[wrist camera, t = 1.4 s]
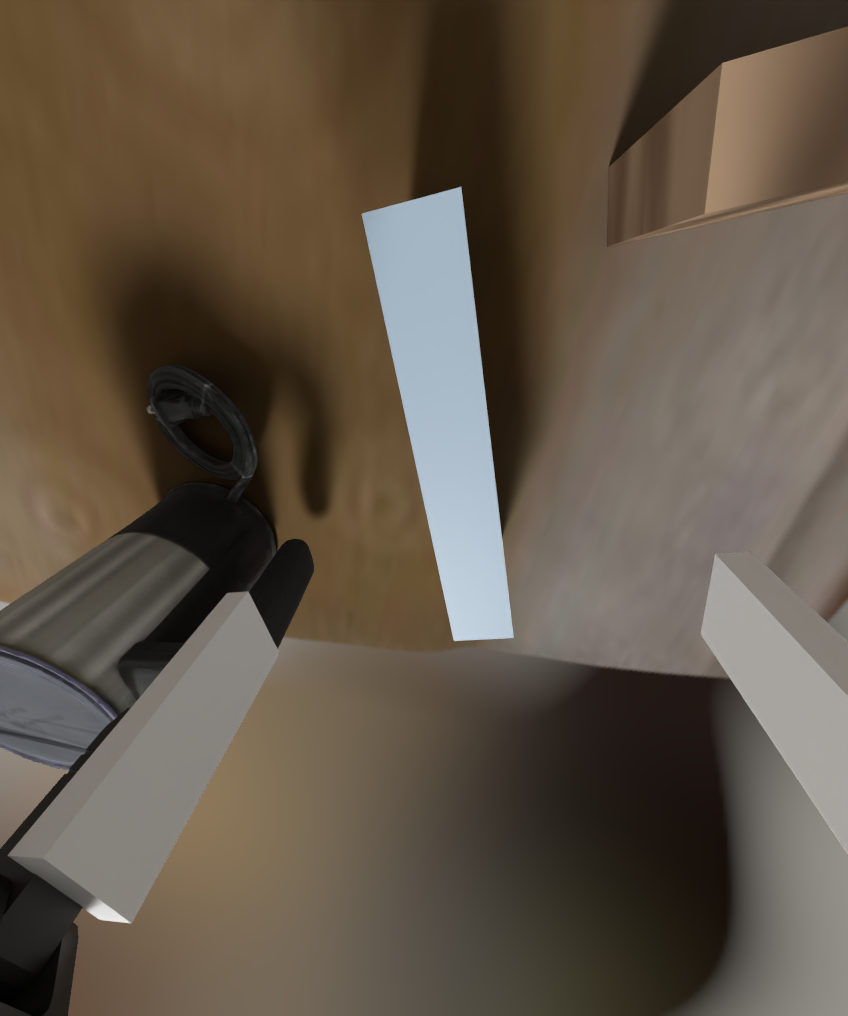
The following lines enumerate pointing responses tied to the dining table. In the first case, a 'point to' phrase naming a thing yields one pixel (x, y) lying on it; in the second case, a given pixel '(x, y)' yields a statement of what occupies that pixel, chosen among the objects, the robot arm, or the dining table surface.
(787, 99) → the light brown wooden block
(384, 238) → the pale blue flat block
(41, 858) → the robot arm
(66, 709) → the milk frother
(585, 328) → the dining table surface
